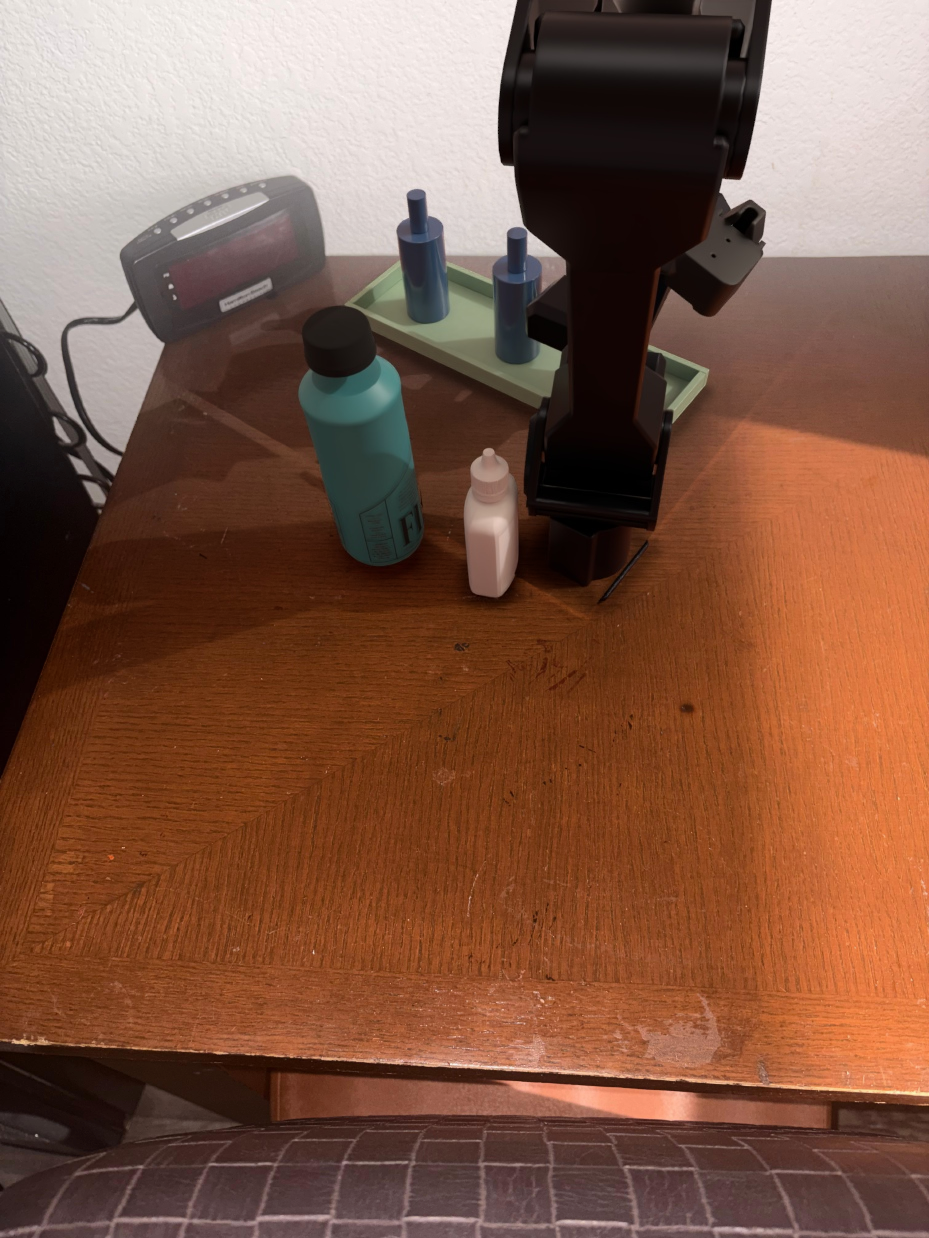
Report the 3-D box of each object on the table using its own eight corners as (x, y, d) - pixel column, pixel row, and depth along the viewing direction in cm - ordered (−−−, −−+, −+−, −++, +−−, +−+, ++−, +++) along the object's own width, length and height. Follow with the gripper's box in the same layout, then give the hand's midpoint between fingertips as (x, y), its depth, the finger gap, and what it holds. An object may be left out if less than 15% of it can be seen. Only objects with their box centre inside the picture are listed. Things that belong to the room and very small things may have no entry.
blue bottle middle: (523, 370, 72) (523, 254, 63) (485, 353, 74) (480, 237, 65) (549, 345, 74) (553, 228, 65) (512, 329, 76) (510, 212, 66)
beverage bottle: (417, 586, 62) (378, 368, 45) (330, 574, 63) (260, 356, 46) (437, 518, 65) (407, 291, 48) (354, 508, 66) (297, 283, 49)
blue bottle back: (431, 329, 76) (419, 213, 67) (397, 314, 78) (381, 198, 68) (458, 305, 78) (450, 189, 69) (425, 291, 79) (412, 175, 70)
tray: (641, 465, 67) (645, 444, 65) (347, 325, 78) (343, 304, 76) (704, 391, 71) (709, 369, 69) (416, 269, 82) (414, 247, 81)
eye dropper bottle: (541, 560, 62) (545, 443, 52) (490, 608, 60) (484, 495, 50) (497, 530, 64) (492, 411, 54) (446, 576, 62) (431, 461, 52)
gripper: (683, 283, 48) (648, 474, 61) (824, 134, 55) (766, 332, 68) (520, 222, 52) (520, 413, 65) (673, 91, 59) (646, 286, 72)
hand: (619, 360), depth 67 cm, fingers open, 6 cm apart
